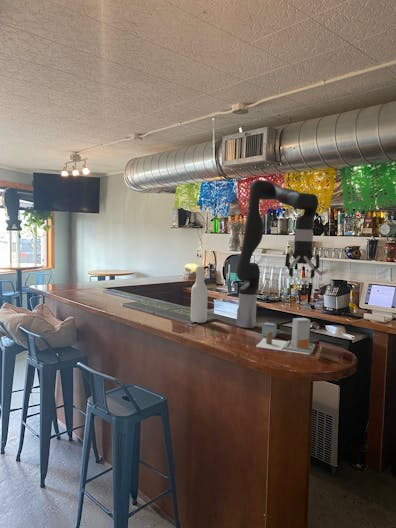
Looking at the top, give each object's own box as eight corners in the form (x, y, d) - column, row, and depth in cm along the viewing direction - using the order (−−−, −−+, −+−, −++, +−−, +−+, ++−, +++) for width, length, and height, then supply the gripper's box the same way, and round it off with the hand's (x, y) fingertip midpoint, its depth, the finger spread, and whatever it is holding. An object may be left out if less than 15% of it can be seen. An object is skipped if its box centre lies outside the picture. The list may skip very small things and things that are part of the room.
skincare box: (296, 349, 163) (297, 320, 162) (290, 346, 167) (292, 318, 166) (309, 348, 164) (310, 319, 163) (303, 345, 169) (305, 317, 168)
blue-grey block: (261, 339, 183) (262, 324, 182) (264, 336, 188) (265, 321, 187) (273, 340, 181) (274, 325, 180) (276, 338, 186) (276, 323, 185)
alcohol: (187, 321, 213) (189, 266, 211) (195, 318, 221) (197, 265, 218) (202, 324, 209) (204, 267, 207) (209, 320, 217) (211, 266, 214)
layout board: (255, 350, 165) (256, 334, 165) (263, 341, 179) (264, 327, 179) (311, 358, 157) (312, 342, 156) (315, 348, 170) (316, 333, 170)
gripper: (321, 240, 171) (319, 278, 173) (288, 239, 177) (286, 275, 178) (319, 240, 164) (317, 279, 166) (285, 239, 170) (283, 277, 171)
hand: (301, 277), depth 172 cm, fingers open, 8 cm apart
